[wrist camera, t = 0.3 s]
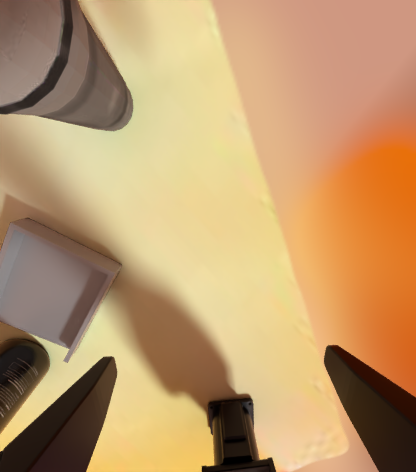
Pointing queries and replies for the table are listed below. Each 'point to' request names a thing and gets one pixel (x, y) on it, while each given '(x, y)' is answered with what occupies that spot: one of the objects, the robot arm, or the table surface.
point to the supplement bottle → (19, 375)
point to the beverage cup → (58, 66)
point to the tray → (51, 283)
